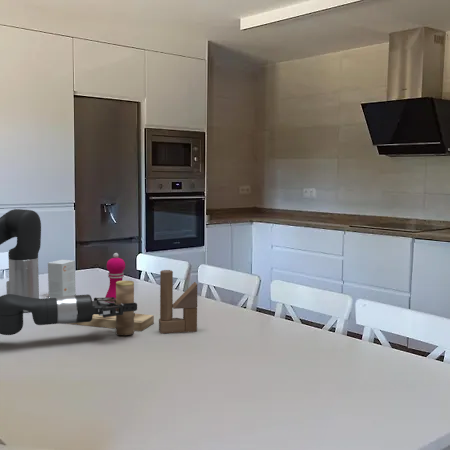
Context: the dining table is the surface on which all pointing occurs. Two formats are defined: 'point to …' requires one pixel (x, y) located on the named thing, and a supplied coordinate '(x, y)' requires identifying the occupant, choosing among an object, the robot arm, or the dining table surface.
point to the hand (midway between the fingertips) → (134, 304)
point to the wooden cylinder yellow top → (127, 319)
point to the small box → (61, 278)
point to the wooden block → (176, 306)
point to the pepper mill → (114, 273)
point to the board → (110, 322)
